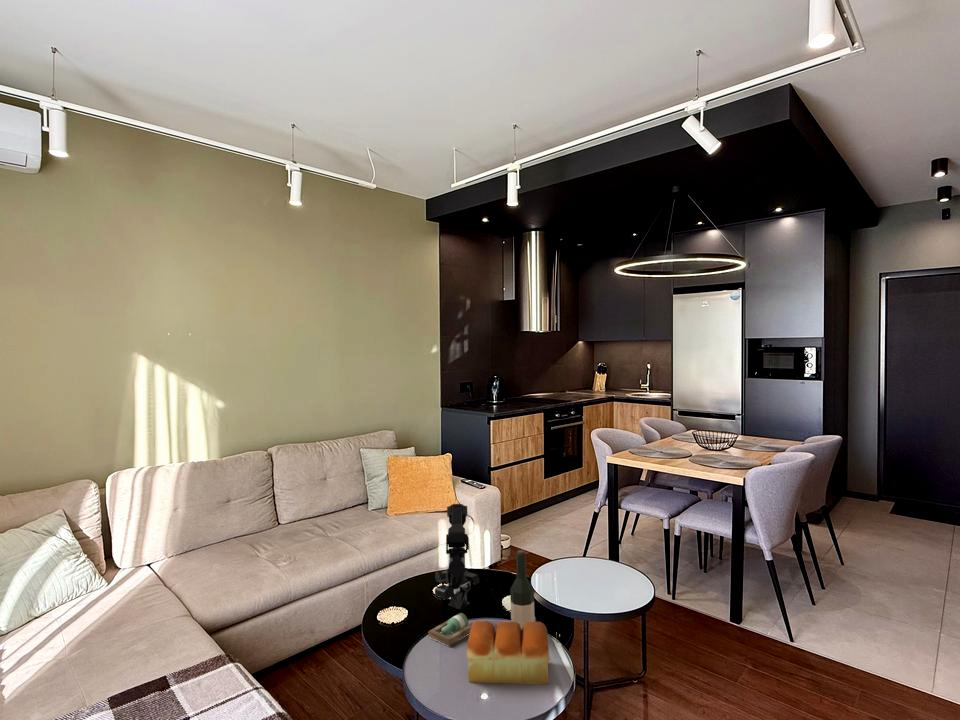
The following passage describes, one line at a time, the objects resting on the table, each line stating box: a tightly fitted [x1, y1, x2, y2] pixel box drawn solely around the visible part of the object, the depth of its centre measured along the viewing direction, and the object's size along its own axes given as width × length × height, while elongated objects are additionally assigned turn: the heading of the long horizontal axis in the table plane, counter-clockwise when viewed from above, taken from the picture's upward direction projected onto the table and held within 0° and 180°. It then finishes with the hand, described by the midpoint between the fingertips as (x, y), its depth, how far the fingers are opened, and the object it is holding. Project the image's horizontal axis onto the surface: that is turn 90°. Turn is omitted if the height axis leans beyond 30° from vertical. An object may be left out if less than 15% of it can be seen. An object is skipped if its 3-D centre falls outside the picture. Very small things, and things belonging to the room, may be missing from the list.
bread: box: [466, 620, 550, 685], centre depth 165 cm, size 25×12×15 cm, turn 85°
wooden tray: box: [427, 620, 474, 647], centre depth 189 cm, size 14×10×2 cm
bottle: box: [441, 612, 469, 636], centre depth 190 cm, size 6×6×10 cm
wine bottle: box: [509, 549, 536, 635], centre depth 187 cm, size 8×8×30 cm
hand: (458, 608), depth 192 cm, fingers closed
